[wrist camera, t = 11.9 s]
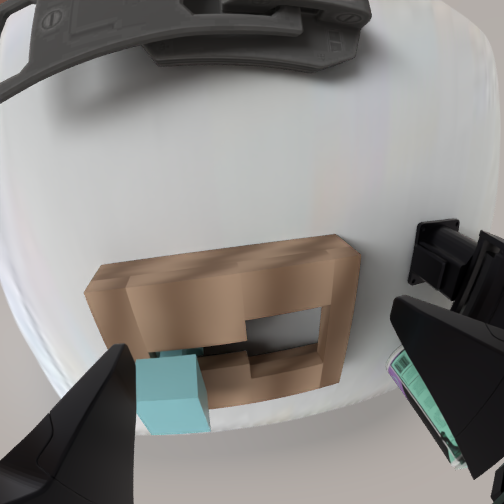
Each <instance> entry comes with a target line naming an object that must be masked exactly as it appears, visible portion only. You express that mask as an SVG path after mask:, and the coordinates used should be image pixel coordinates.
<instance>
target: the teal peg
mask: <svg viewBox="0 0 504 504" xmlns="http://www.w3.org/2000/svg"><path fill="white" fill-rule="evenodd" d="M155 353H156V355H157V358H150V359H136V363H135V364H136V402H137V410H136V413H137V414H138V416H139V417H140V419H141V420H142V422H143V423H144V425H145V426H146V428H147V429H148V430H149V432H150V433H151V435H166V434H186V433H199V432H209V431H211V428H210V419H209V409H208V399H207V391H206V387H205V384H204V381H203V378H202V374H201V371H200V367H199V364H198V360H197V357H196V356H199V355H204V350H203V347H199V348H190V349H181V350H171V351H160V352H155Z"/></svg>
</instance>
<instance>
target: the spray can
mask: <svg viewBox="0 0 504 504" xmlns="http://www.w3.org/2000/svg"><path fill="white" fill-rule="evenodd" d="M386 370H387V371H388V373H389V374H390V376H391V377H392V378H393V380H394V381H395V383H396V384H397V385H398V387H399V388H400V390H401V391H402V392H403V394H404V395H405V397H406V398H407V400H408V401H409V402H410V404H411V405H412V407H413V408H414V410H415V411H416V412H417V414H418V415H419V417H420V418H421V420H422V421H423V423H424V424H425V426H426V427H427V429H428V430H429V431H430V433H431V434H432V436H433V438H434V439H435V441H436V442H437V444H438V445H439V447H440V448H441V450H442V451H443V453H444V454H445V456H446V457H447V459H448V461H449V462H450V463H451V465H452V466H455V470H457V469H462V468H467V464H466V462H465V460H464V458H463V456H462V454H461V452H460V449H459V447H458V445H457V443H456V441H455V439H454V437H453V435H452V433H451V431H450V429H449V427H448V425H447V423H446V421H445V420H444V418H443V416H442V414H441V412H440V410H439V408H438V407H437V405H436V403H435V401H434V399H433V398H432V396H431V394H430V392H429V391H428V389H427V387H426V385H425V384H424V382H423V380H422V378H421V377H420V375H419V373H418V372H417V370H416V368H415V367H414V365H413V363H412V362H411V360H410V359H409V357H408V355H407V353H406V351H405V349H404V347H403V345H401V346H400V347H398V348H397V349H396V350H395V351H394V352H393V353H392V355H391V356H390V357H389V359H388V361H387V363H386Z"/></svg>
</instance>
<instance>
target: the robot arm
mask: <svg viewBox="0 0 504 504" xmlns="http://www.w3.org/2000/svg"><path fill="white" fill-rule="evenodd" d="M459 223H460V222H459V220H458V219H446V220H437V221H428V222H421V223H419V224H418V226H417V232H416V239H415V245H414V251H413V257H412V262H411V268H410V273H409V277H408V283H409V284H410V285H416V284H420V283H423V282H427V283H428V284H429V285H430V286H432V287H433V288H434V289H435V290H437V291H440V292H441V293H442V294H443V295H445V296H446V297H447V298H448V299H450V300H451V301H454V303H453V305H452V307H451V309H450V310H447V309H444V308H441V307H438V306H436V305H433V304H430V303H427V302H424V301H421V300H419V299H416V298H413V297H410V296H407V295H402V296H398V297H396V298H395V299H394V301H393V306H392V310H391V314H390V321H391V323H392V325H393V327H394V329H395V331H396V333H397V335H398V337H399V339H400V341H401V343H402V345H403V347H404V349H405V351H406V353H407V355H408V357H409V359H410V360H411V362H412V363H413V365H414V367H415V368H416V370H417V372H418V373H419V375H420V377H421V378H422V380H423V382H424V384H425V385H426V387H427V389H428V391H429V392H430V394H431V396H432V398H433V399H434V401H435V403H436V405H437V407H438V408H439V410H440V412H441V414H442V416H443V418H444V420H445V421H446V423H447V425H448V427H449V429H450V431H451V433H452V435H453V437H454V439H455V441H456V443H457V445H458V447H459V449H460V452H461V454H462V456H463V458H464V460H465V462H466V464H467V467H468V469H469V471H470V473H471V476H472V477H473V479H474V480H475V479H476V478H478V477H479V476H480V475H482V474H483V473H484V472H485V471H487V470H488V469H490V468H491V467H492V466H493V465H495V464H496V463H497V462H498V461H499V460H501V459H502V458H503V457H504V239H502V238H500V237H498V236H495V235H493V234H490V233H488V232H485V231H483V230H481V231H480V234H479V236H480V237H479V240H478V242H476V241H474V240H472V239H470V238H469V237H467V236H465V235H463V234H461V233H459V232H458V230H459ZM136 410H137V402H136V364H135V361H134V359H133V357H132V354H131V352H130V350H129V348H128V346H127V344H125V343H120V344H113V345H112V346H111V347H110V348H109V349H108V350H107V351H106V352H105V353H104V354H103V356H102V357H101V358H100V359H99V360H98V361H97V362H96V363H95V364H94V365H93V366H92V367H91V368H90V369H89V370H88V371H87V372H86V373H85V374H84V375H83V376H82V377H81V378H80V380H79V381H78V382H77V383H76V384H75V385H74V386H73V387H72V388H71V389H70V390H69V391H68V392H67V393H66V394H65V396H64V397H63V398H62V399H61V400H60V401H59V402H58V403H57V404H56V405H55V406H54V408H53V409H52V410H51V411H50V413H48V414H47V415H46V416H45V417H44V418H43V419H42V421H41V422H40V423H39V424H38V425H37V426H36V427H35V428H34V429H33V430H32V431H31V432H30V433H29V434H28V435H27V436H26V437H25V438H24V439H23V440H22V441H21V442H20V443H19V444H18V445H16V446H15V447H14V448H13V449H12V450H11V451H10V452H9V453H8V454H7V455H6V456H5V457H4V458H2V459H1V460H0V504H134V503H133V467H134V466H133V465H134V440H135V425H136ZM491 499H492V500H493V504H504V463H503V464H502V465H501V466H500V467H499V469H497V470H496V472H495V477H494V483H493V488H492V493H491Z"/></svg>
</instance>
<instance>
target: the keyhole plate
mask: <svg viewBox="0 0 504 504" xmlns="http://www.w3.org/2000/svg"><path fill="white" fill-rule="evenodd" d="M360 262H361V254H360V253H358V252H357V251H356V250H355V249H354V248H352V247H351V246H350V245H349V244H347V243H346V242H345V241H343V240H342V239H341V238H340V237H338V236H337V235H336V234H333V235H325V236H317V237H309V238H301V239H293V240H285V241H277V242H269V243H261V244H253V245H246V246H238V247H230V248H223V249H215V250H208V251H200V252H193V253H185V254H178V255H170V256H163V257H155V258H148V259H141V260H134V261H126V262H119V263H112V264H105V265H101V266H100V268H99V269H98V271H97V272H96V274H95V275H94V277H93V278H92V280H91V282H90V283H89V285H88V286H87V288H86V290H85V291H84V295H85V297H86V300H87V303H88V305H89V308H90V310H91V313H92V315H93V317H94V320H95V322H96V325H97V327H98V329H99V331H100V334H101V336H102V338H103V340H104V342H105V345H106V347H107V349H109V348H110V347H111V346H112V345H113V344H120V343H125V344H127V346H128V348H129V350H130V352H131V354H132V357H133V359H134V361H135V363H136V359H150V358H157V355H156V353H155V352H160V351H171V350H181V349H190V348H199V347H207V346H214V345H222V344H229V343H235V342H242V341H247V335H246V325H245V320H251V319H257V318H263V317H269V316H275V315H280V314H286V313H291V312H297V311H302V310H307V309H312V308H317V307H322V308H321V319H320V329H319V338H318V343H315V344H311V345H306V346H302V347H297V348H293V349H288V350H283V351H278V352H273V353H267V354H262V355H256V356H250V357H248V356H247V352H246V351H240V352H234V353H227V354H220V355H212V356H205V357H197V360H198V364H199V367H200V371H201V374H202V378H203V381H204V384H205V387H206V391H207V399H208V409H216V408H224V407H231V406H238V405H244V404H250V403H256V402H262V401H267V400H272V399H277V398H281V397H286V396H290V395H295V394H299V393H303V392H307V391H311V390H315V389H319V388H322V387H326V386H329V385H333V384H336V383H339V381H340V377H341V372H342V368H343V364H344V359H345V354H346V350H347V345H348V340H349V335H350V329H351V324H352V318H353V312H354V306H355V300H356V293H357V286H358V278H359V270H360Z"/></svg>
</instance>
